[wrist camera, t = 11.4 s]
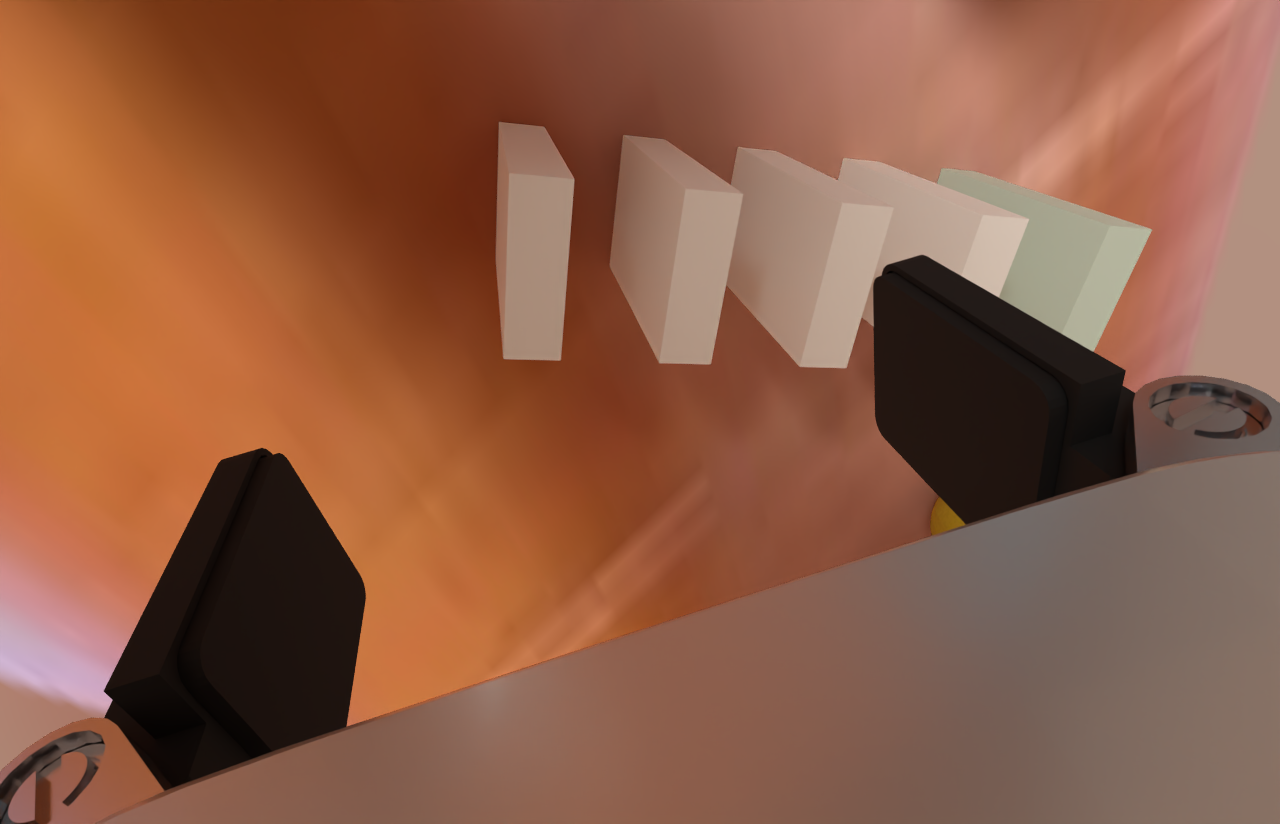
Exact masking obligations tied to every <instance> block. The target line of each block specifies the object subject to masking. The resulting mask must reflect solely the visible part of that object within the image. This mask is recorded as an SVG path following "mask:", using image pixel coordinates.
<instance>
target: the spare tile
mask: <svg viewBox="0 0 1280 824" xmlns="http://www.w3.org/2000/svg"><path fill="white" fill-rule="evenodd" d="M937 184H939V185H942V186H944V187H947V188H949V189H952V190H955V191H957V192H960V193H963V194H965V195H968V196H970V197H973V198H976V199H978V200H981V201H984V202H986V203H989V204H991V205H994V206H997V207H999V208H1002V209H1004V210H1007V211H1010V212H1012V213H1015V214H1018V215H1020V216H1023V217H1025V218H1028V219H1029V221H1028V224H1027V227H1026V229H1025V232H1024V234H1023V237H1022V239H1021V242H1020V244H1019V247H1018V250H1017V252H1016V255H1015V257H1014V260H1013V262H1012V265H1011V267H1010V270H1009V273H1008V275H1007V278H1006V280H1005V283H1004V285H1003V288H1002V290H1001V293H1000V295H999V298H1001V299H1002V300H1004V301H1006V302H1007V303H1009V304H1011V305H1013V306H1014V307H1016V308H1018V309H1020V310H1021V311H1023V312H1025V313H1027V314H1028V315H1030V316H1032V317H1034V318H1035V319H1037V320H1039V321H1040V322H1042V323H1044V324H1046V325H1047V326H1049V327H1051V328H1053V329H1054V330H1056V331H1058V332H1060V333H1061V334H1063V335H1065V336H1067V337H1068V338H1070V339H1072V340H1073V341H1075V342H1077V343H1079V344H1080V345H1082V346H1084V347H1086V348H1087V349H1089V350H1091V351H1093V352H1094V350H1095V348H1096V346H1097V343H1098V341H1099V339H1100V337H1101V335H1102V333H1103V331H1104V329H1105V327H1106V325H1107V323H1108V321H1109V318H1110V316H1111V314H1112V312H1113V310H1114V308H1115V306H1116V304H1117V302H1118V300H1119V298H1120V296H1121V293H1122V291H1123V289H1124V287H1125V285H1126V283H1127V281H1128V279H1129V277H1130V275H1131V273H1132V271H1133V268H1134V266H1135V264H1136V262H1137V260H1138V258H1139V256H1140V254H1141V252H1142V250H1143V248H1144V246H1145V243H1146V241H1147V239H1148V237H1149V235H1150V233H1151V231H1152V229H1149V228H1146V227H1143V226H1140V225H1137V224H1134V223H1131V222H1128V221H1125V220H1122V219H1119V218H1116V217H1113V216H1110V215H1107V214H1104V213H1101V212H1097V211H1094V210H1091V209H1088V208H1085V207H1082V206H1079V205H1076V204H1073V203H1070V202H1067V201H1064V200H1061V199H1058V198H1055V197H1052V196H1049V195H1046V194H1043V193H1040V192H1036V191H1033V190H1030V189H1027V188H1024V187H1021V186H1018V185H1015V184H1012V183H1009V182H1006V181H1003V180H1000V179H997V178H994V177H991V176H988V175H985V174H982V173H978V172H975V171H967V170H957V169H948V168H942V169H941V173H940V176H939V179H938V182H937Z"/></svg>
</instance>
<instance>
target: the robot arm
mask: <svg viewBox="0 0 1280 824" xmlns="http://www.w3.org/2000/svg"><path fill="white" fill-rule="evenodd" d="M873 318H874V375H875V417H876V423H877V426H878V428H879V431H880V433H881V434H882V436H883V437H884V438H885V439H886V440H887V441H888V443H889V444H890V445H891V446H892V447H893V448H894V449H895V450H896V451H897V452H898V453H899V454H900V455H901V456H902V457H903V458H904V459H905V461H906V462H907V463H908V464H909V465H910V466H911V467H912V468H913V469H914V470H915V471H916V472H917V473H918V474H919V475H920V476H921V478H922V479H923V480H924V481H925V482H926V483H927V484H928V485H929V486H930V487H931V488H932V489H933V490H934V491H935V492H936V493H937V494H938V496H939V497H940V498H941V499H942V500H943V501H944V502H945V503H946V504H947V505H948V506H949V507H950V508H951V509H952V510H953V511H954V513H955V514H956V515H957V516H958V517H959V518H960V519H961V520H962V521H963V522H964V523H965V524H966V525H964V526H961V527H957V528H954V529H951V530H948V531H945V532H942V533H939V534H936V535H932V536H929V537H926V538H923V539H920V540H917V541H914V542H911V543H907V544H904V545H901V546H898V547H895V548H892V549H889V550H886V551H882V552H879V553H876V554H873V555H870V556H867V557H864V558H861V559H857V560H854V561H851V562H848V563H845V564H842V565H839V566H836V567H833V568H829V569H826V570H823V571H820V572H817V573H814V574H811V575H808V576H804V577H801V578H798V579H795V580H792V581H789V582H786V583H783V584H780V585H777V586H774V587H770V588H767V589H764V590H761V591H758V592H755V593H752V594H749V595H746V596H743V597H740V598H737V599H734V600H730V601H727V602H724V603H721V604H718V605H715V606H712V607H709V608H706V609H703V610H700V611H697V612H693V613H690V614H687V615H684V616H681V617H678V618H675V619H672V620H669V621H666V622H663V623H660V624H657V625H654V626H651V627H648V628H644V629H641V630H638V631H635V632H632V633H629V634H626V635H623V636H620V637H617V638H614V639H611V640H608V641H605V642H602V643H599V644H595V645H592V646H589V647H586V648H583V649H580V650H577V651H574V652H571V653H568V654H565V655H562V656H559V657H556V658H553V659H550V660H547V661H544V662H541V663H538V664H535V665H532V666H529V667H526V668H523V669H520V670H517V671H513V672H510V673H507V674H504V675H501V676H498V677H495V678H492V679H489V680H486V681H483V682H480V683H477V684H474V685H471V686H468V687H465V688H462V689H459V690H456V691H453V692H450V693H447V694H444V695H441V696H438V697H435V698H432V699H429V700H426V701H423V702H420V703H417V704H414V705H411V706H408V707H405V708H402V709H399V710H396V711H393V712H390V713H387V714H384V715H381V716H378V717H375V718H372V719H369V720H366V721H363V722H360V723H357V724H353V725H350V726H347V727H346V725H347V719H348V712H349V706H350V699H351V692H352V686H353V679H354V673H355V666H356V659H357V653H358V646H359V640H360V633H361V626H362V620H363V613H364V607H365V599H366V594H365V587H364V583H363V580H362V578H361V576H360V574H359V573H358V571H357V569H356V568H355V566H354V565H353V563H352V561H351V560H350V558H349V557H348V555H347V553H346V552H345V550H344V548H343V547H342V545H341V544H340V542H339V540H338V539H337V537H336V536H335V534H334V532H333V531H332V529H331V528H330V526H329V524H328V523H327V521H326V520H325V518H324V516H323V515H322V513H321V512H320V510H319V508H318V507H317V505H316V504H315V502H314V500H313V499H312V497H311V496H310V494H309V492H308V491H307V489H306V488H305V486H304V484H303V483H302V481H301V480H300V478H299V476H298V475H297V473H296V472H295V470H294V468H293V467H292V465H291V464H290V462H289V461H288V459H287V458H286V457H285V456H284V455H283V454H280V453H277V454H274V455H273V454H272V453H271V452H269V451H268V450H267V449H264V448H260V449H257V450H253V451H250V452H246V453H243V454H240V455H236V456H233V457H229V458H226V459H223V460H221V461H220V462H219V463H218V465H217V467H216V469H215V471H214V473H213V475H212V477H211V479H210V481H209V483H208V485H207V487H206V489H205V491H204V493H203V495H202V497H201V499H200V501H199V503H198V505H197V507H196V509H195V511H194V513H193V515H192V517H191V519H190V521H189V523H188V525H187V527H186V529H185V531H184V533H183V535H182V537H181V539H180V541H179V543H178V545H177V546H176V548H175V550H174V552H173V554H172V556H171V558H170V560H169V562H168V564H167V566H166V568H165V570H164V572H163V574H162V576H161V578H160V580H159V582H158V584H157V586H156V588H155V590H154V592H153V594H152V596H151V598H150V600H149V602H148V604H147V606H146V608H145V610H144V612H143V614H142V616H141V618H140V620H139V622H138V624H137V626H136V628H135V630H134V632H133V634H132V636H131V638H130V640H129V642H128V644H127V646H126V648H125V650H124V652H123V654H122V656H121V658H120V660H119V662H118V664H117V666H116V668H115V670H114V672H113V674H112V676H111V678H110V680H109V682H108V684H107V686H106V688H105V690H104V692H105V693H106V694H107V695H108V696H109V697H110V698H111V699H112V700H113V701H112V703H111V705H110V707H109V709H108V711H107V713H106V715H105V717H104V718H88V719H85V720H80V721H76V722H72V723H70V724H68V725H66V726H64V727H62V728H59V729H57V730H55V731H53V732H51V733H49V734H47V735H46V736H44V737H43V738H41V739H40V740H39V741H37V742H35V743H34V744H32V745H31V746H29V747H28V748H26V749H25V750H24V751H23V752H21V753H20V754H19V755H18V756H17V757H16V758H14V759H13V760H12V761H11V762H10V763H9V764H7V765H6V766H5V767H4V768H3V769H2V770H1V771H0V824H1280V403H1279V402H1277V401H1276V400H1275V399H1273V398H1272V397H1271V396H1269V395H1268V394H1266V393H1264V392H1262V391H1260V390H1257V389H1255V388H1253V387H1251V386H1248V385H1246V384H1241V383H1238V382H1234V381H1231V380H1227V379H1222V378H1215V377H1207V376H1174V377H1168V378H1162V379H1158V380H1155V381H1153V382H1150V383H1148V384H1145V385H1144V386H1143V387H1142V388H1140V389H1139V390H1138V391H1137V392H1136V393H1134V392H1132V391H1131V390H1129V389H1127V388H1126V387H1124V386H1122V385H1123V380H1124V376H1125V371H1126V370H1124V369H1122V368H1120V367H1119V366H1117V365H1115V364H1113V363H1112V362H1110V361H1108V360H1106V359H1105V358H1103V357H1101V356H1100V355H1098V354H1096V353H1094V352H1093V351H1091V350H1089V349H1087V348H1086V347H1084V346H1082V345H1080V344H1079V343H1077V342H1075V341H1073V340H1072V339H1070V338H1068V337H1067V336H1065V335H1063V334H1061V333H1060V332H1058V331H1056V330H1054V329H1053V328H1051V327H1049V326H1047V325H1046V324H1044V323H1042V322H1040V321H1039V320H1037V319H1035V318H1034V317H1032V316H1030V315H1028V314H1027V313H1025V312H1023V311H1021V310H1020V309H1018V308H1016V307H1014V306H1013V305H1011V304H1009V303H1007V302H1006V301H1004V300H1002V299H1001V298H999V297H997V296H995V295H994V294H992V293H990V292H988V291H987V290H985V289H983V288H981V287H980V286H978V285H976V284H974V283H973V282H971V281H969V280H967V279H966V278H964V277H962V276H961V275H959V274H957V273H955V272H954V271H952V270H950V269H948V268H947V267H945V266H943V265H941V264H940V263H938V262H936V261H934V260H933V259H931V258H929V257H928V256H925V255H919V256H915V257H912V258H908V259H905V260H902V261H898V262H895V263H891V264H888V265H886V266H885V267H884V268H883V271H882V276H879V277H877V278H876V279H875V280H874V283H873Z"/></svg>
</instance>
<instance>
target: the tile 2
mask: <svg viewBox="0 0 1280 824" xmlns="http://www.w3.org/2000/svg"><path fill="white" fill-rule="evenodd" d="M742 199H743V193H741V192H740V191H739V190H737V189H736V188H734V187H733V186H731V185H730V184H729V183H727V182H726V181H724V180H723V179H721V178H720V177H718V176H717V175H716V174H714V173H713V172H711V171H710V170H708V169H707V168H706V167H704V166H703V165H701V164H700V163H698V162H697V161H696V160H694V159H693V158H691V157H690V156H688V155H687V154H685V153H684V152H683V151H681V150H680V149H678V148H677V147H675V146H674V145H673V144H671V143H670V142H668V141H667V140H665V139H658V138H648V137H639V136H629V135H623V141H622V151H621V161H620V170H619V180H618V189H617V199H616V208H615V218H614V227H613V237H612V246H611V256H610V265H609V266H610V268H611V270H612V272H613V274H614V276H615V278H616V280H617V282H618V284H619V286H620V288H621V290H622V292H623V294H624V296H625V298H626V300H627V301H628V303H629V305H630V307H631V309H632V311H633V313H634V315H635V317H636V319H637V321H638V323H639V325H640V327H641V329H642V331H643V333H644V335H645V336H646V338H647V340H648V342H649V344H650V346H651V348H652V350H653V352H654V354H655V356H656V358H657V360H658V362H659V363H671V364H710V365H711V361H712V356H713V351H714V346H715V340H716V335H717V330H718V325H719V319H720V314H721V309H722V304H723V298H724V293H725V288H726V283H727V277H728V272H729V267H730V262H731V257H732V251H733V246H734V241H735V236H736V230H737V225H738V220H739V215H740V209H741V204H742Z"/></svg>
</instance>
